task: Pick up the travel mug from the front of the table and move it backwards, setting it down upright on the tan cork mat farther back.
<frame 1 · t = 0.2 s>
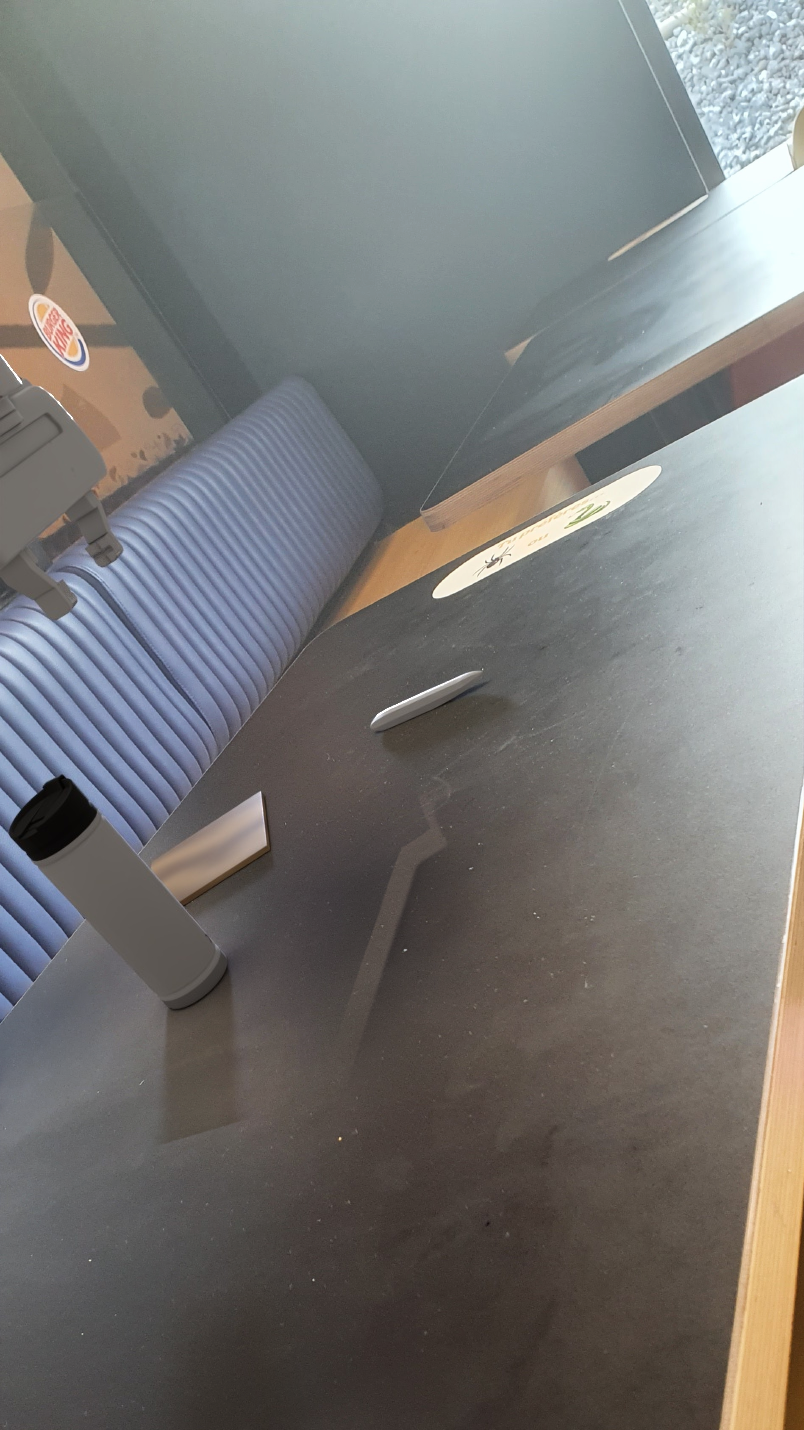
hand: (91, 585, 78), 31 cm above the table, tool pointing down, fingers open, 8 cm apart
travel mug: (200, 982, 96), on the table
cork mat: (209, 858, 116), on the table
pen: (431, 709, 116), on the table
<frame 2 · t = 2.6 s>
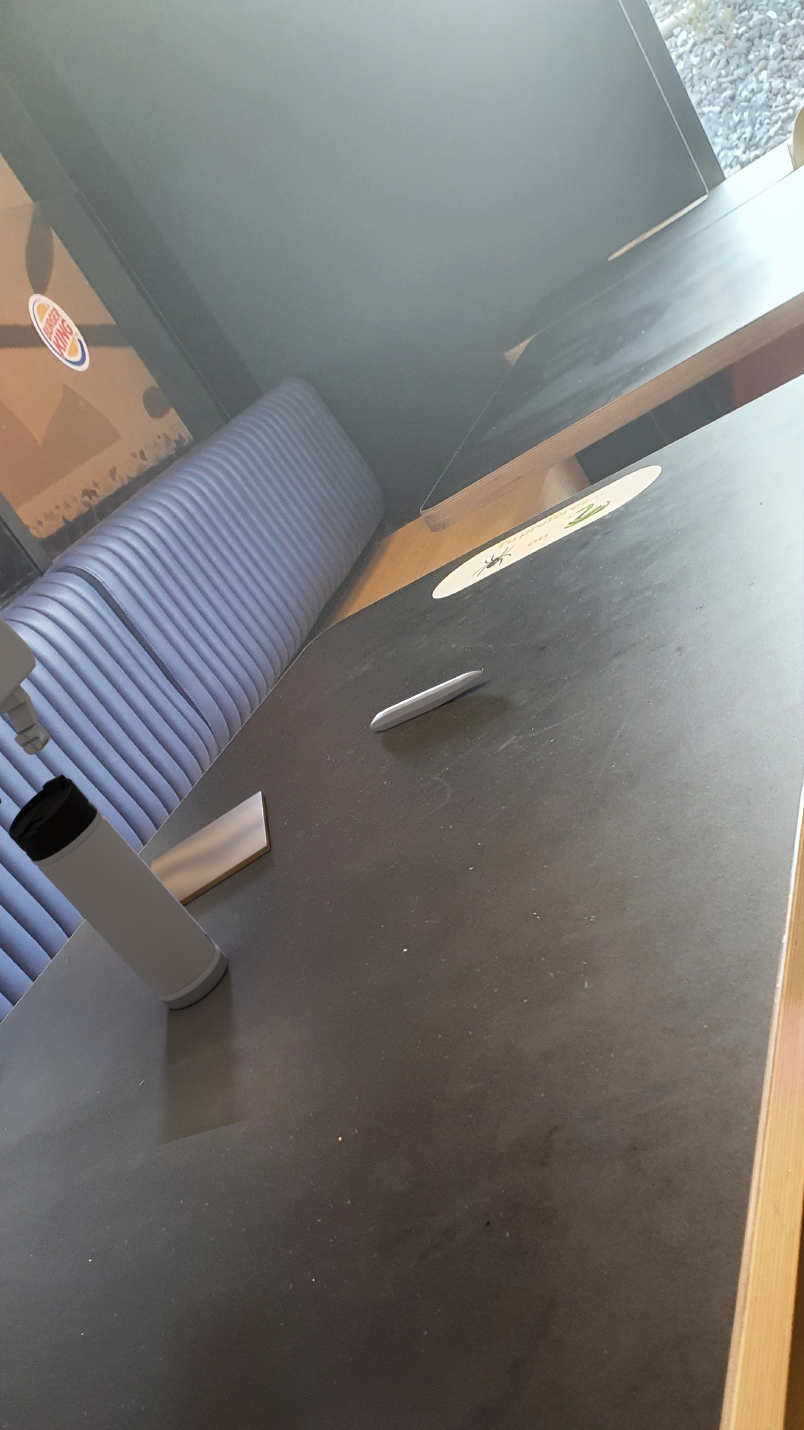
hand: (17, 778, 86), 22 cm above the table, tool pointing down, fingers open, 8 cm apart
nothing on the table moved.
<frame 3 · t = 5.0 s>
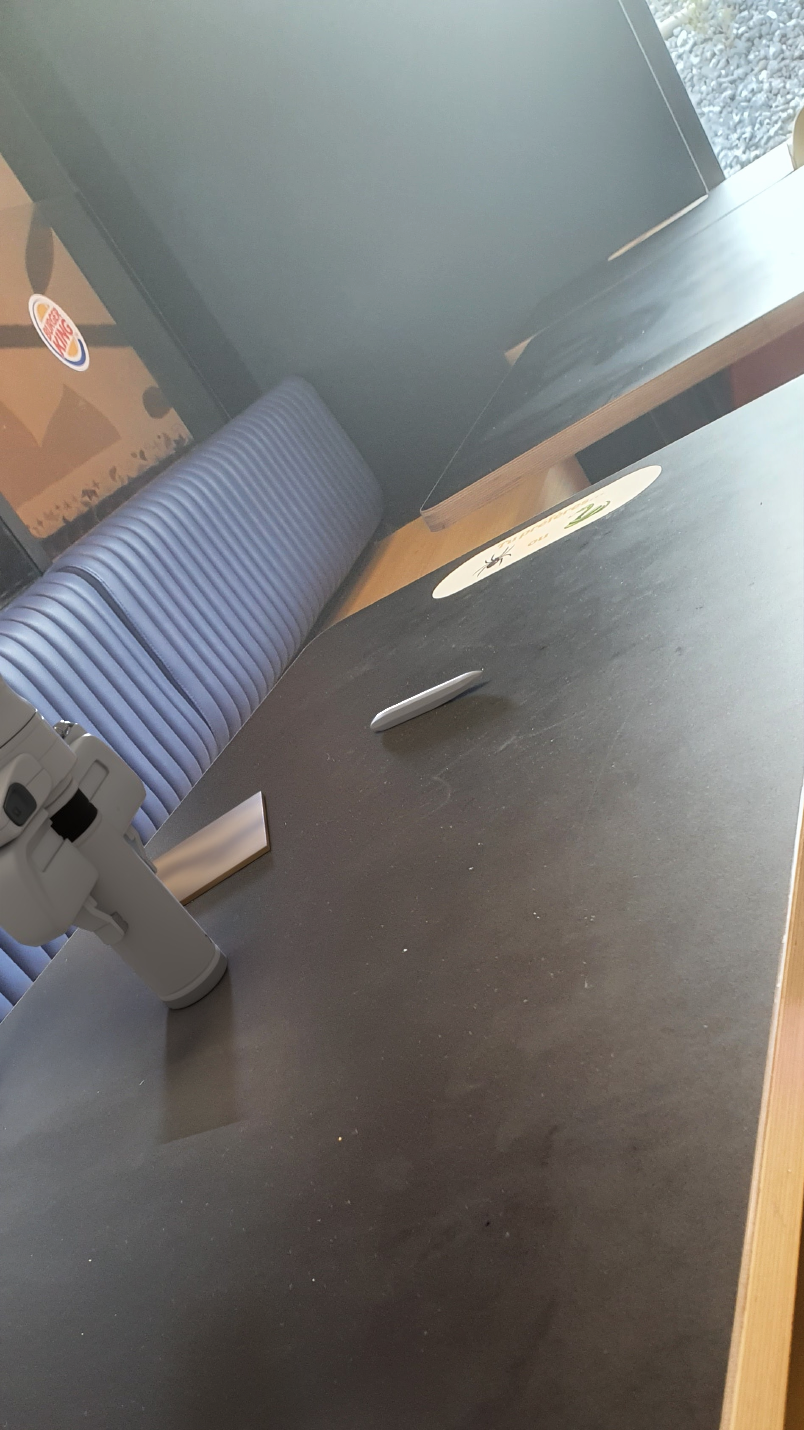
hand: (134, 908, 92), 9 cm above the table, tool pointing down, fingers closed on travel mug, 6 cm apart
travel mug: (199, 982, 96), on the table, touching arm, gripper
everything else where it was.
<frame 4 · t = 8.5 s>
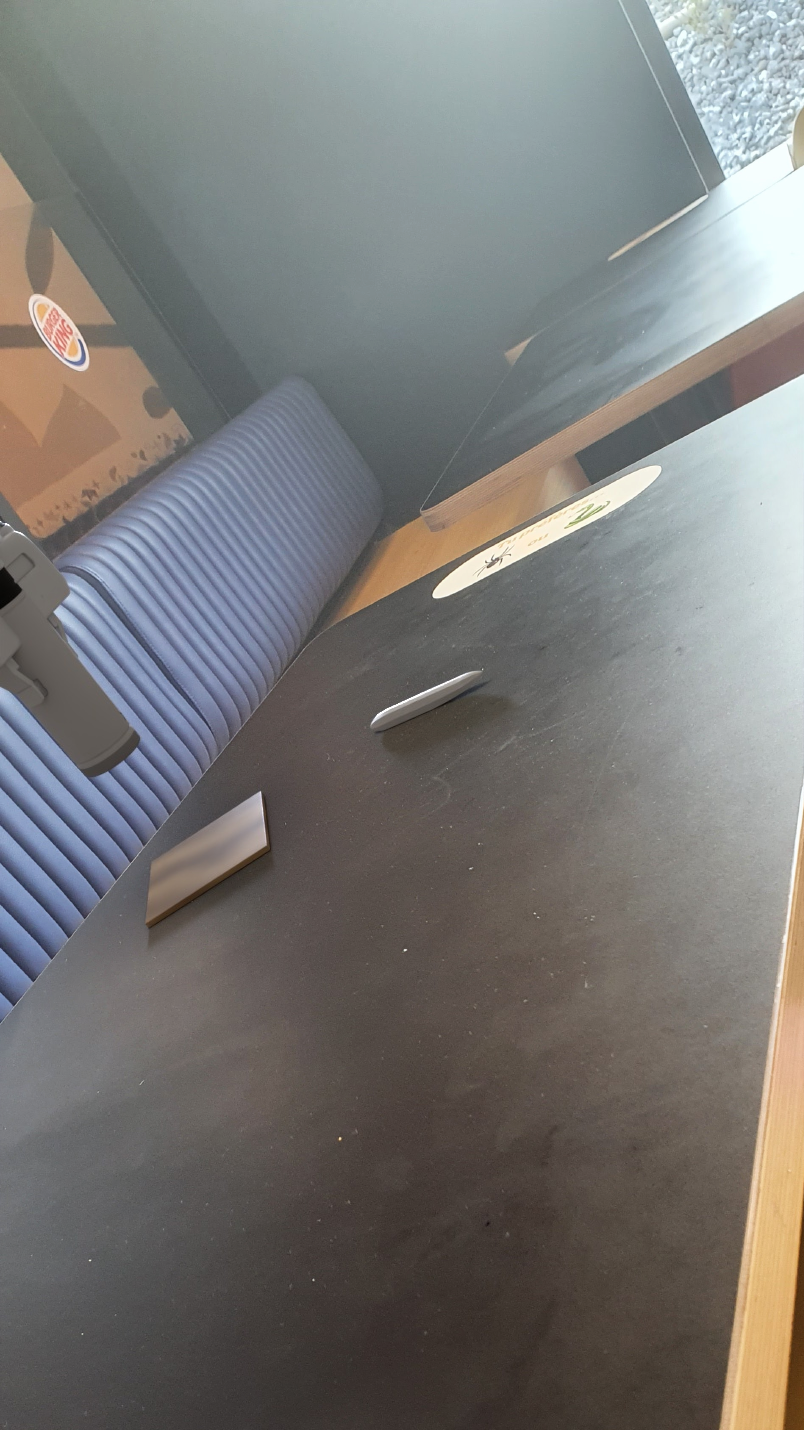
hand: (55, 683, 104), 23 cm above the table, tool pointing down, fingers closed on travel mug, 6 cm apart
travel mug: (116, 758, 109), point 14 cm above the table, touching arm, gripper
everything else where it was.
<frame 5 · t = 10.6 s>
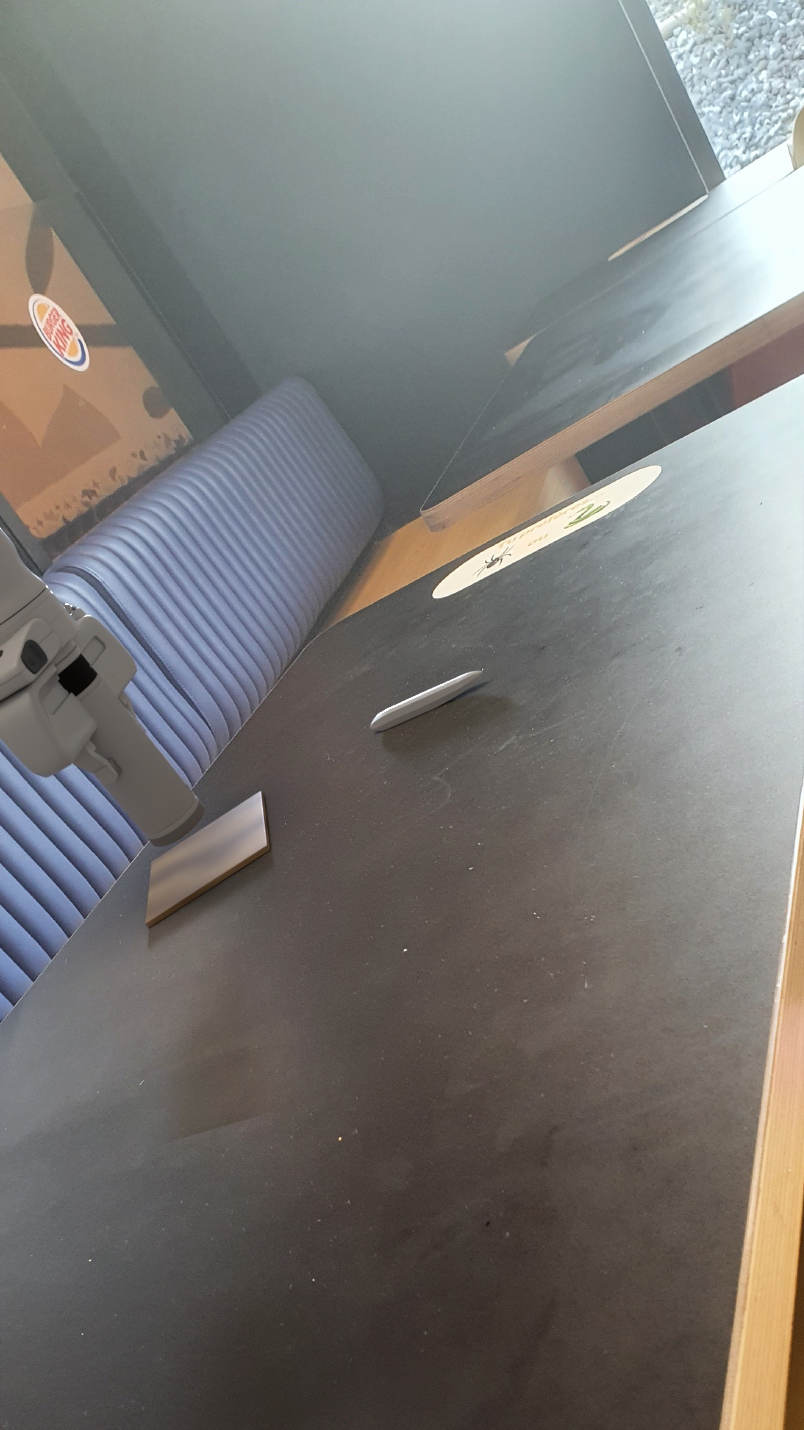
hand: (126, 759, 110), 13 cm above the table, tool pointing down, fingers closed on travel mug, 6 cm apart
travel mug: (181, 827, 114), point 4 cm above the table, touching arm, gripper
everything else where it was.
when the fingers open (9 cm above the table, at t = 12.1 s): travel mug stays where it is, resting on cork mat.
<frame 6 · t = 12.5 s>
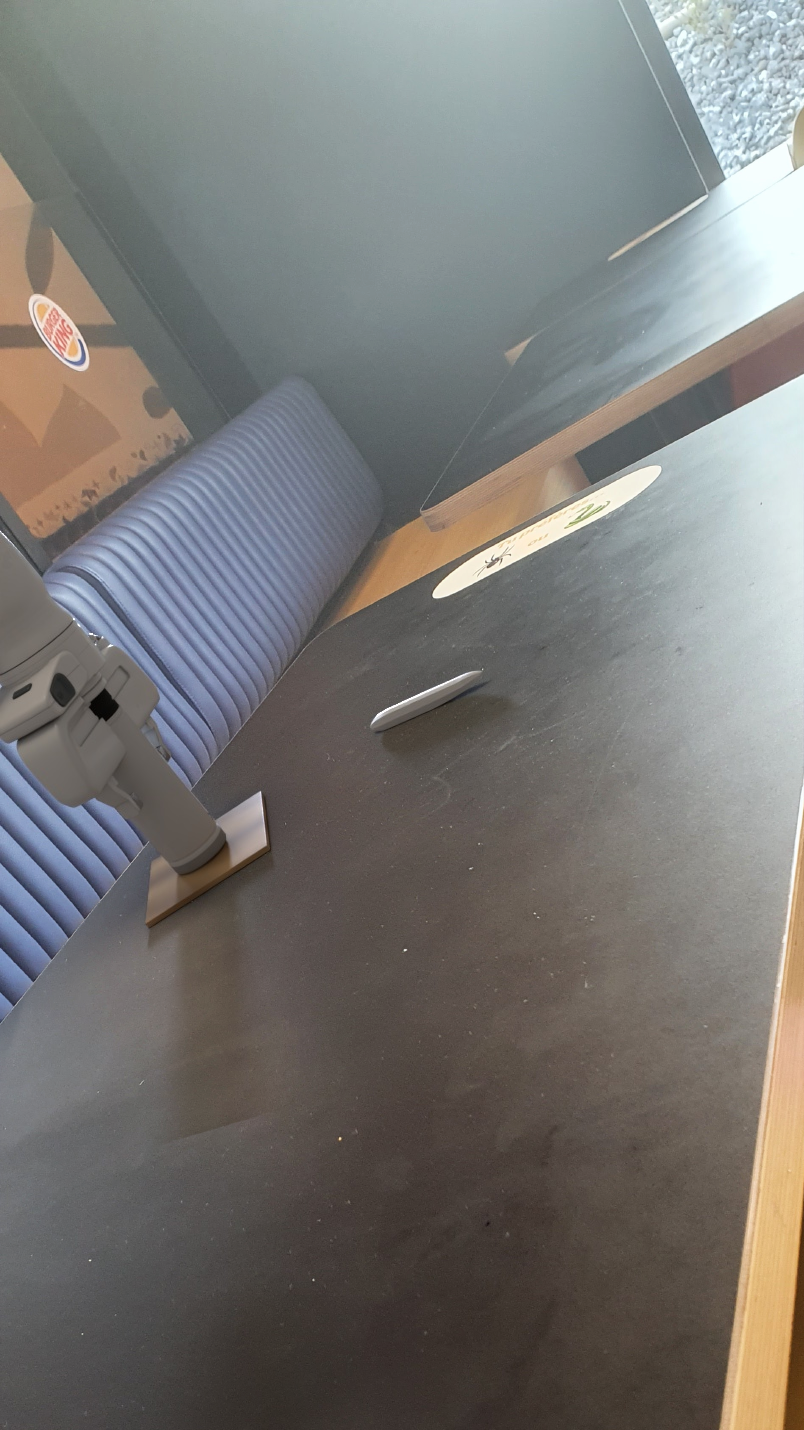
hand: (150, 787, 112), 9 cm above the table, tool pointing down, fingers open, 8 cm apart
travel mug: (204, 854, 116), resting on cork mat
everything else where it was.
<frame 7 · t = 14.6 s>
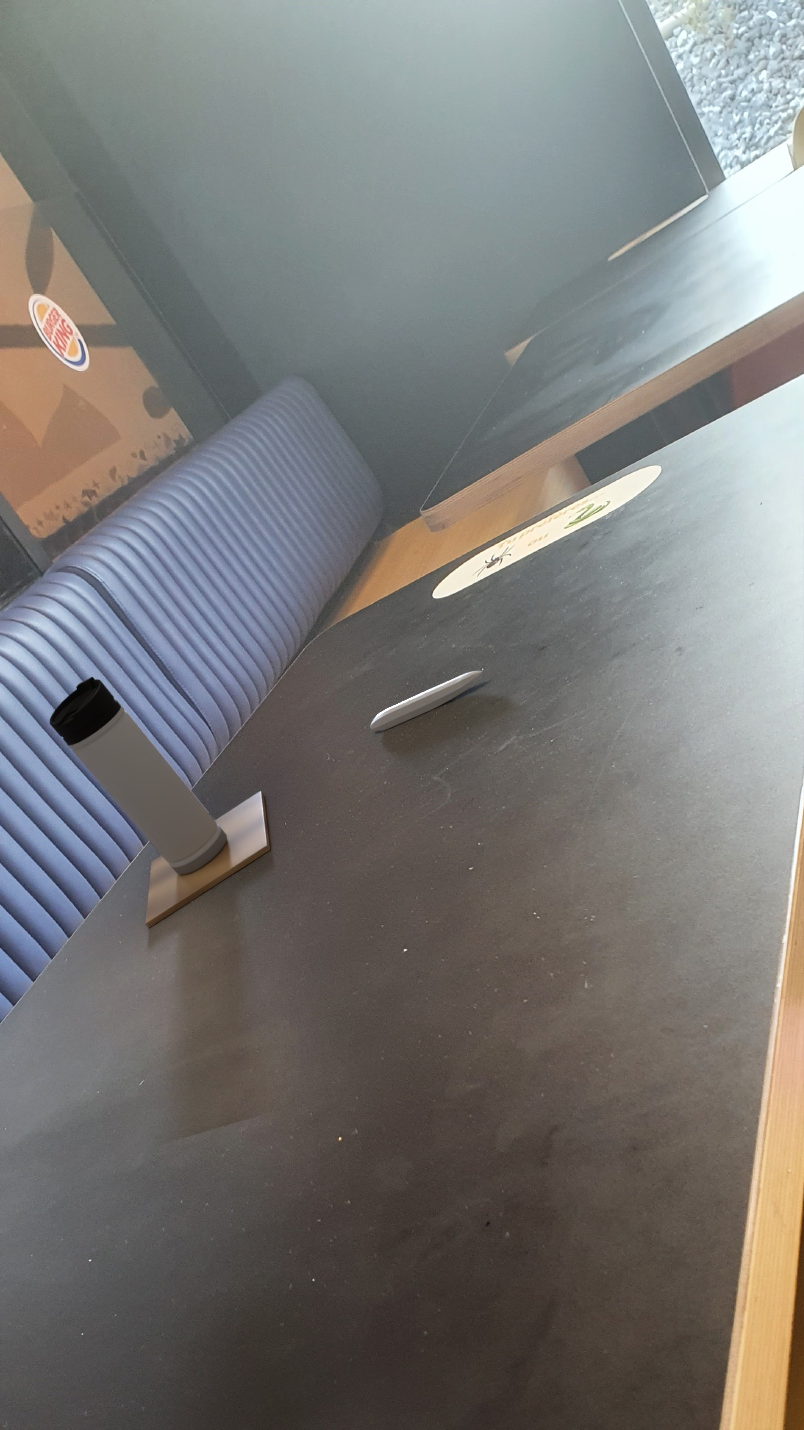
nothing on the table moved.
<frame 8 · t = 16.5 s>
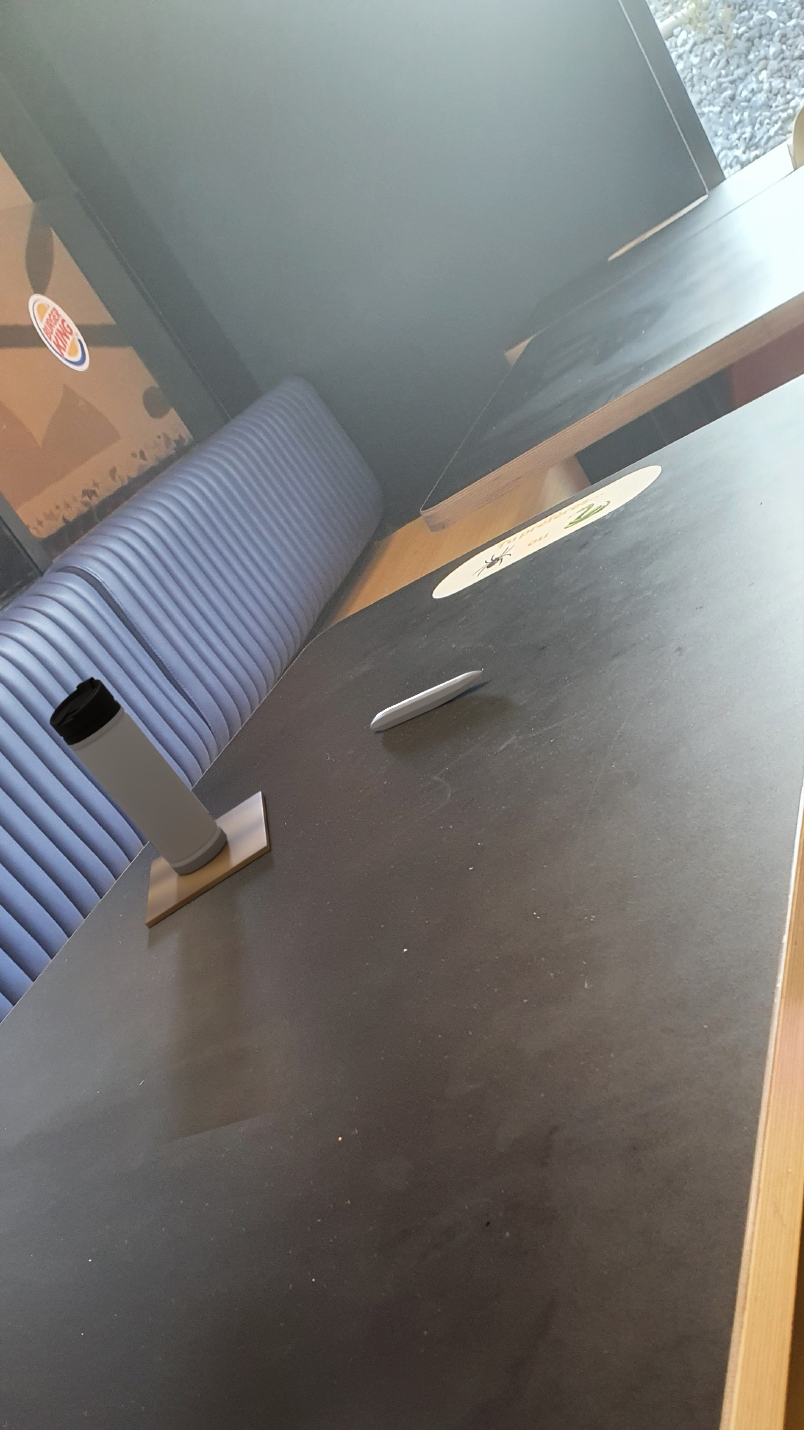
nothing on the table moved.
at the end: travel mug inside the target area on the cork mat (0.5 cm from its centre), point 0.4 cm above the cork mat's base; travel mug tilted 0°; the gripper is holding nothing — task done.
